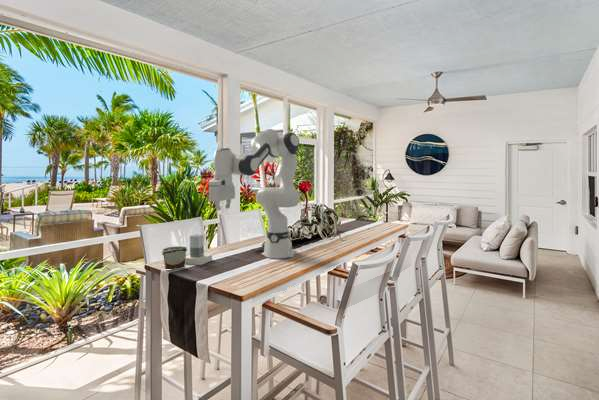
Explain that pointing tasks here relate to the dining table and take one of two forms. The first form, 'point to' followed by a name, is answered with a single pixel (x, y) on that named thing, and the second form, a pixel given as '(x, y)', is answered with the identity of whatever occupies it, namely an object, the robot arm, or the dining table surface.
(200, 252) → the block
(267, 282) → the dining table surface
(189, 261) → the stand
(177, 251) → the food container
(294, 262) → the dining table surface
